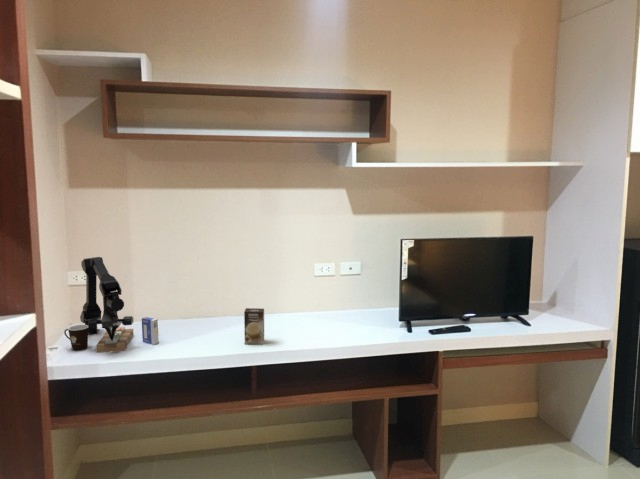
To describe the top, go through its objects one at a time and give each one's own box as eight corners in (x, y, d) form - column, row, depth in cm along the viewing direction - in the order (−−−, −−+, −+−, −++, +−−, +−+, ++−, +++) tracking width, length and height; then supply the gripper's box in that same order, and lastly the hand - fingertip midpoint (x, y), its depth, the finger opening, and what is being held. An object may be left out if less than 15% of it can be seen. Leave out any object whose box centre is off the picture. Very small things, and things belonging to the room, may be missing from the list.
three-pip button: (111, 337, 247) (111, 331, 246) (122, 337, 247) (121, 330, 247) (109, 341, 242) (108, 334, 241) (120, 340, 243) (119, 333, 242)
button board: (108, 336, 255) (107, 330, 254) (133, 335, 257) (133, 328, 256) (96, 352, 233) (96, 345, 232) (124, 350, 235) (124, 343, 234)
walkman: (142, 342, 247) (141, 317, 246) (147, 340, 250) (145, 316, 248) (154, 344, 243) (153, 320, 242) (158, 342, 246) (157, 318, 244)
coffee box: (244, 344, 243) (243, 311, 241) (246, 340, 249) (245, 308, 247) (263, 344, 243) (262, 311, 241) (265, 340, 249) (264, 308, 247)
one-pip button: (108, 344, 240) (107, 338, 239) (119, 344, 241) (118, 337, 240) (105, 348, 235) (105, 341, 235) (116, 347, 236) (116, 340, 236)
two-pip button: (114, 333, 253) (114, 327, 253) (125, 332, 254) (124, 326, 254) (112, 336, 249) (112, 329, 248) (123, 335, 249) (122, 329, 249)
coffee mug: (93, 348, 239) (92, 327, 237) (74, 353, 232) (72, 331, 231) (82, 342, 246) (80, 322, 245) (63, 347, 240) (62, 326, 239)
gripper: (83, 312, 226) (85, 346, 228) (128, 310, 229) (130, 344, 231) (90, 305, 237) (92, 338, 239) (132, 304, 240) (134, 336, 242)
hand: (112, 339), depth 237 cm, fingers closed, pressing on one-pip button
